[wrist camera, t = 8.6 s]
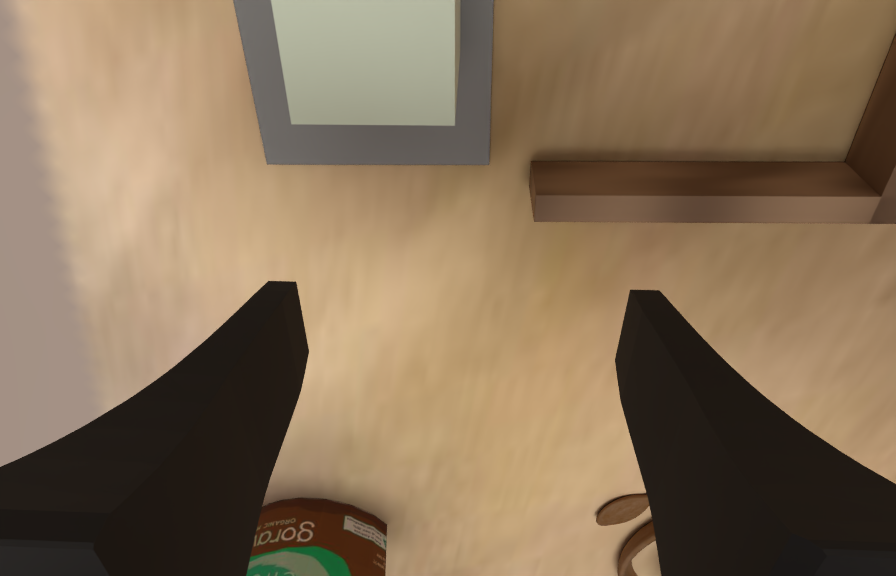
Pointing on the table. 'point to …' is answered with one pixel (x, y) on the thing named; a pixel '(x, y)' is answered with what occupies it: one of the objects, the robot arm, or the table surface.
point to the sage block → (369, 60)
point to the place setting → (624, 512)
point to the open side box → (735, 182)
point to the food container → (317, 540)
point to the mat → (371, 141)
